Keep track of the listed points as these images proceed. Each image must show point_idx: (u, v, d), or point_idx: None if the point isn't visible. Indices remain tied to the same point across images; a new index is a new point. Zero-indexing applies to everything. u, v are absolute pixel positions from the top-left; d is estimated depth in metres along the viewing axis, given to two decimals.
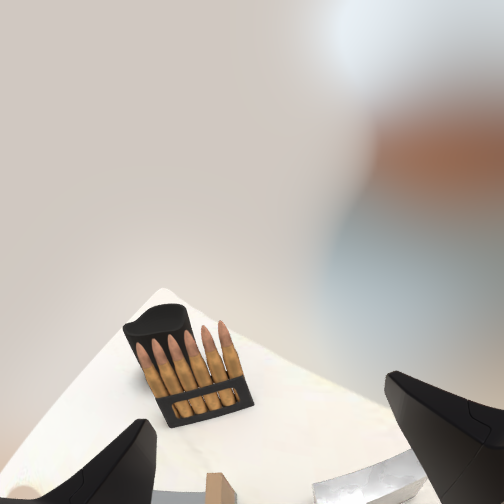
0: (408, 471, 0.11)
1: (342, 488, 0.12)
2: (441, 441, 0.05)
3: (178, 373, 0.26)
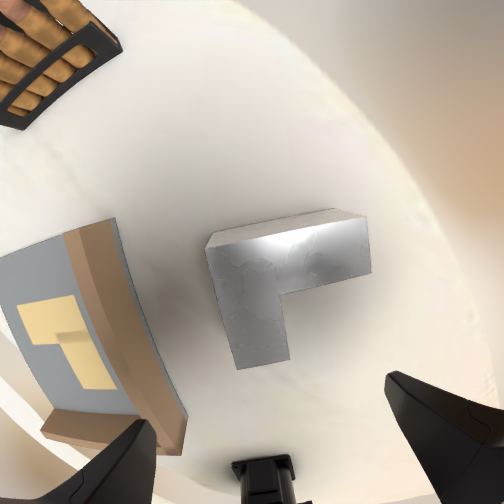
0: (345, 258, 0.13)
1: (248, 264, 0.13)
2: (441, 441, 0.05)
3: None
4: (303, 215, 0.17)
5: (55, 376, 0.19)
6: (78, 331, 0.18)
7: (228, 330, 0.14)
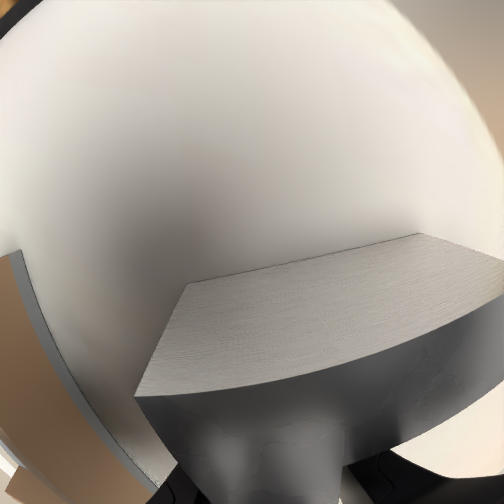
0: (487, 369, 0.04)
1: (275, 434, 0.03)
2: (347, 483, 0.05)
3: None
4: (377, 250, 0.07)
5: None
6: None
7: None
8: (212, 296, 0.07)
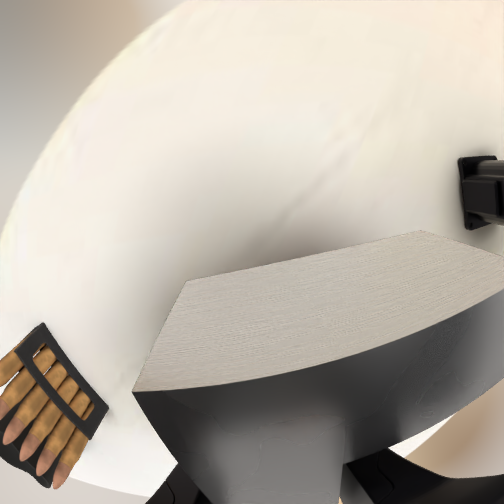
0: (488, 365, 0.04)
1: (274, 430, 0.03)
2: (347, 483, 0.05)
3: (49, 430, 0.13)
4: (376, 247, 0.07)
5: None
6: None
7: None
8: (211, 293, 0.07)
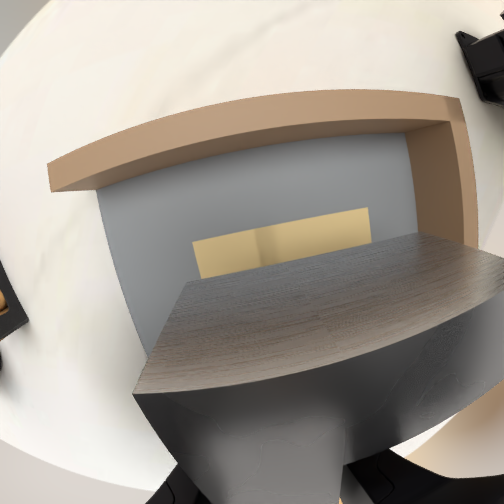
0: (488, 366, 0.04)
1: (275, 432, 0.03)
2: (347, 483, 0.05)
3: None
4: (377, 248, 0.07)
5: None
6: (258, 250, 0.13)
7: None
8: (211, 294, 0.07)
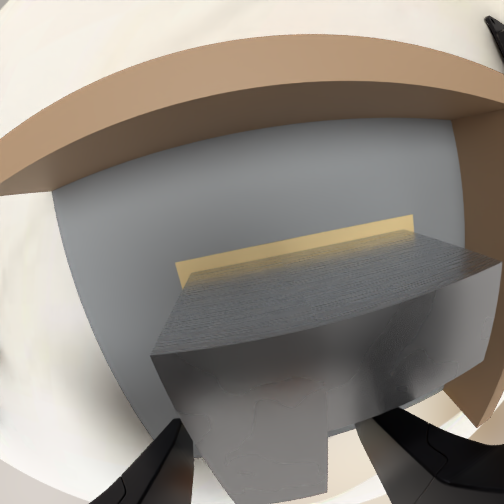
0: (459, 348, 0.05)
1: (266, 390, 0.05)
2: (396, 464, 0.05)
3: None
4: (361, 243, 0.09)
5: None
6: None
7: (221, 476, 0.05)
8: (214, 281, 0.08)
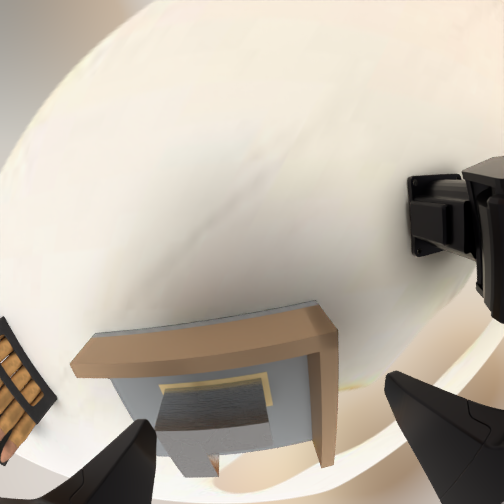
0: (251, 441, 0.15)
1: (183, 440, 0.15)
2: (441, 441, 0.05)
3: (1, 411, 0.12)
4: (233, 387, 0.19)
5: None
6: None
7: (176, 462, 0.16)
8: (172, 399, 0.18)
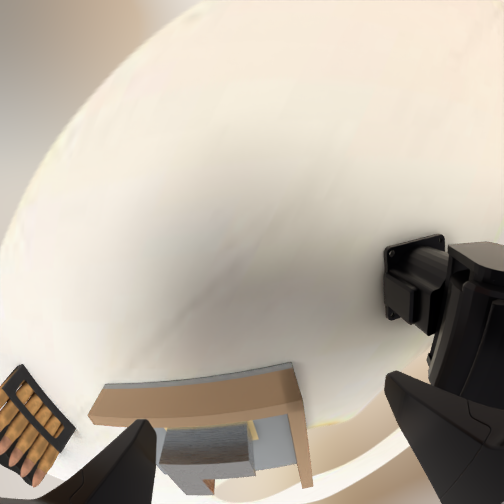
0: (237, 472, 0.17)
1: (182, 471, 0.17)
2: (441, 441, 0.05)
3: (29, 445, 0.15)
4: (223, 428, 0.21)
5: None
6: None
7: (178, 484, 0.18)
8: (173, 436, 0.20)
